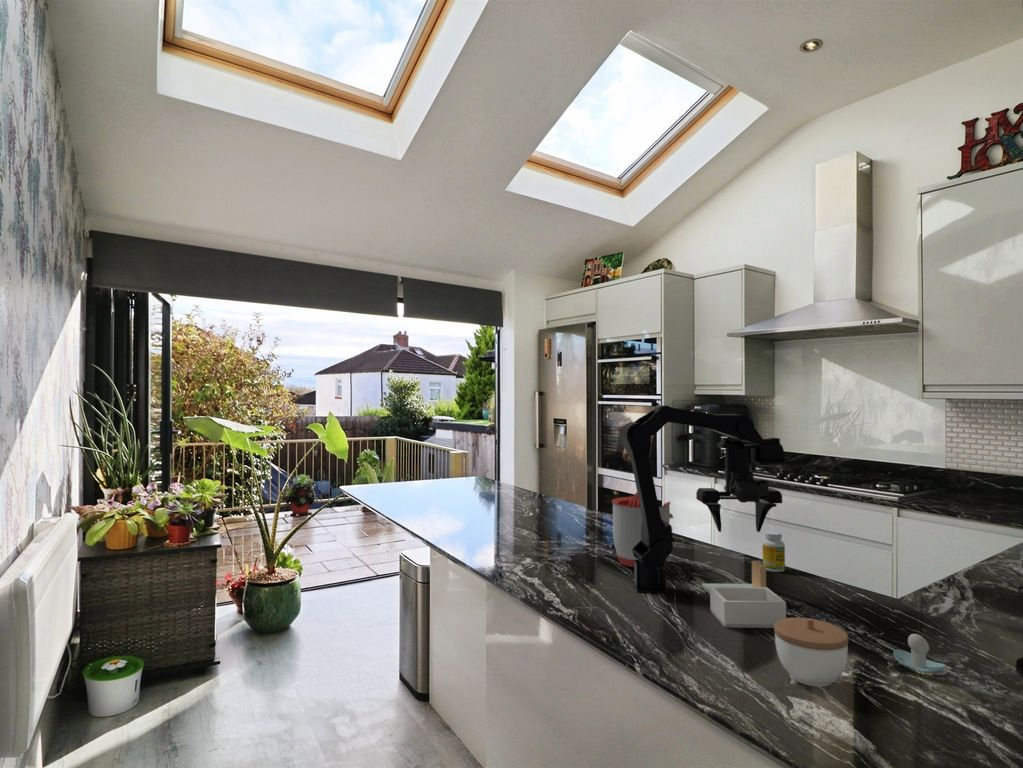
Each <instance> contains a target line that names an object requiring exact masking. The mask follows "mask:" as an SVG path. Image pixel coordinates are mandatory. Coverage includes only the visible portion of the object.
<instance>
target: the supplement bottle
mask: <svg viewBox="0 0 1023 768" xmlns="http://www.w3.org/2000/svg"><path fill="white" fill-rule="evenodd" d="M782 535H783V534H782V533H781V532H779V531H773V530H771V531H770V530H767V531H765V532H764V537H765V539H764V540H762V565H764V566H765V567H766V572H773V573H783V572H785V569H786V557H785V556H786V550H785V547H786V545H785V542H783V540H782V539H783V536H782Z"/></svg>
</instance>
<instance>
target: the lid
mask: <svg viewBox="0 0 1023 768" xmlns="http://www.w3.org/2000/svg"><path fill="white" fill-rule="evenodd" d="M701 587H702V588H703V589H704V590H705V591H706V592H707V593H708V594H709V595H710V587H767V570H766V567H765V566H764V565H763V563H761V561H760V562H759V560H751V583H701Z"/></svg>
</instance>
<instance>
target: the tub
mask: <svg viewBox="0 0 1023 768" xmlns="http://www.w3.org/2000/svg"><path fill="white" fill-rule="evenodd" d="M709 598H710V603H709V605H710V606H709V607H710V608H709V610H710V612H711V613H712V615H713V616H714V617H715V618H716V619H717V621H718V622H719V623H720V624H721V625H722V626H723V628H740V629H741V628H742V629H743V628H752V629H754V628H755V629H756V628H758V629H761V628H762V629H764V628H765V629H767V628H768V629H774V624H775V622H776V621H778V620H780V619H784V618H787V602H786V601H785V600H784V599H783V598H782V597H780V596H778V595H777V594H776V593H775V592H773V590H771V589H770V588H768V586H766V587H710V594H709Z"/></svg>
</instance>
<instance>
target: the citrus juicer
mask: <svg viewBox="0 0 1023 768" xmlns="http://www.w3.org/2000/svg"><path fill="white" fill-rule="evenodd" d="M611 503H612V536H613V543H614V548H615V551H616V556H617V558H618V562H619V563H620V564H621V565H623V566H626V567H631V568H634V560H638V559H637V558H635V557H634V555H633V552H632V549H633V547H634V546H635V545H636V544H637V543H638V542H639V541H640V540H641V524H642V513H641V508H640V503H639V498H638V493H637V492H635V494H633V495H632V496H623V497H616V498H613V499H612V500H611ZM670 505H671V502H670V501H667V502H664V503H663V505H659V510H660V515H661V518H662V520H664V521H665V522H667V523H668V524H670V519H674V516H673V514H672V513H671V511H670Z"/></svg>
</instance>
